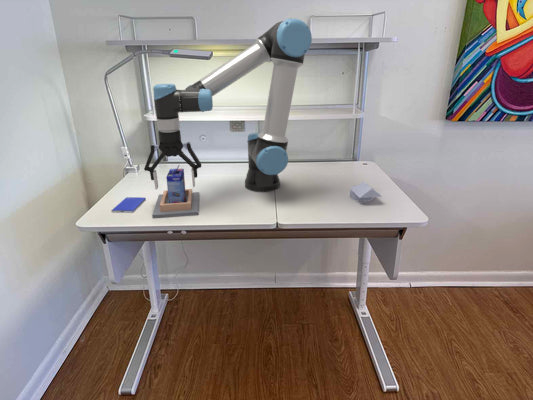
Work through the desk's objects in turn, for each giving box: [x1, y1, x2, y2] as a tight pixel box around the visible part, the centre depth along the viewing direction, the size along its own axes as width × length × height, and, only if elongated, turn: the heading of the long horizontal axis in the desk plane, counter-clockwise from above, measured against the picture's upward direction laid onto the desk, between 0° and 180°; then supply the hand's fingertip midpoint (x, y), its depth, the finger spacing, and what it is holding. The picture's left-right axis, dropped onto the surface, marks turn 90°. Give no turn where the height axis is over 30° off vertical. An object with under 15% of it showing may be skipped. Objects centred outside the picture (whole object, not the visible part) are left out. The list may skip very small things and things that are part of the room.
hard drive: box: [111, 196, 147, 214], centre depth 139 cm, size 2×8×12 cm
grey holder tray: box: [151, 188, 200, 219], centre depth 138 cm, size 16×20×4 cm
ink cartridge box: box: [165, 164, 186, 203], centre depth 135 cm, size 10×6×14 cm, turn 6°
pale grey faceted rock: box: [349, 181, 382, 202], centre depth 141 cm, size 9×7×13 cm
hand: (175, 186), depth 135 cm, fingers open, 13 cm apart
